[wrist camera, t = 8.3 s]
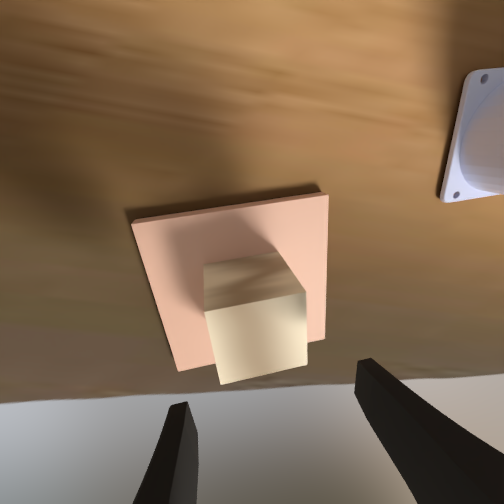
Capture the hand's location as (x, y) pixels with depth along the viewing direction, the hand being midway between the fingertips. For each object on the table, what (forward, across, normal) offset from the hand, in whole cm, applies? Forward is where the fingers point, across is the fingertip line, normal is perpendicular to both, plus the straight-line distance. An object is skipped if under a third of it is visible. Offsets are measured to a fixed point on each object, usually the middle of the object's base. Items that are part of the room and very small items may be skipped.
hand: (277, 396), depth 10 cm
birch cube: (+8, 0, 0) cm, 8 cm away
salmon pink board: (+9, 0, 0) cm, 9 cm away
